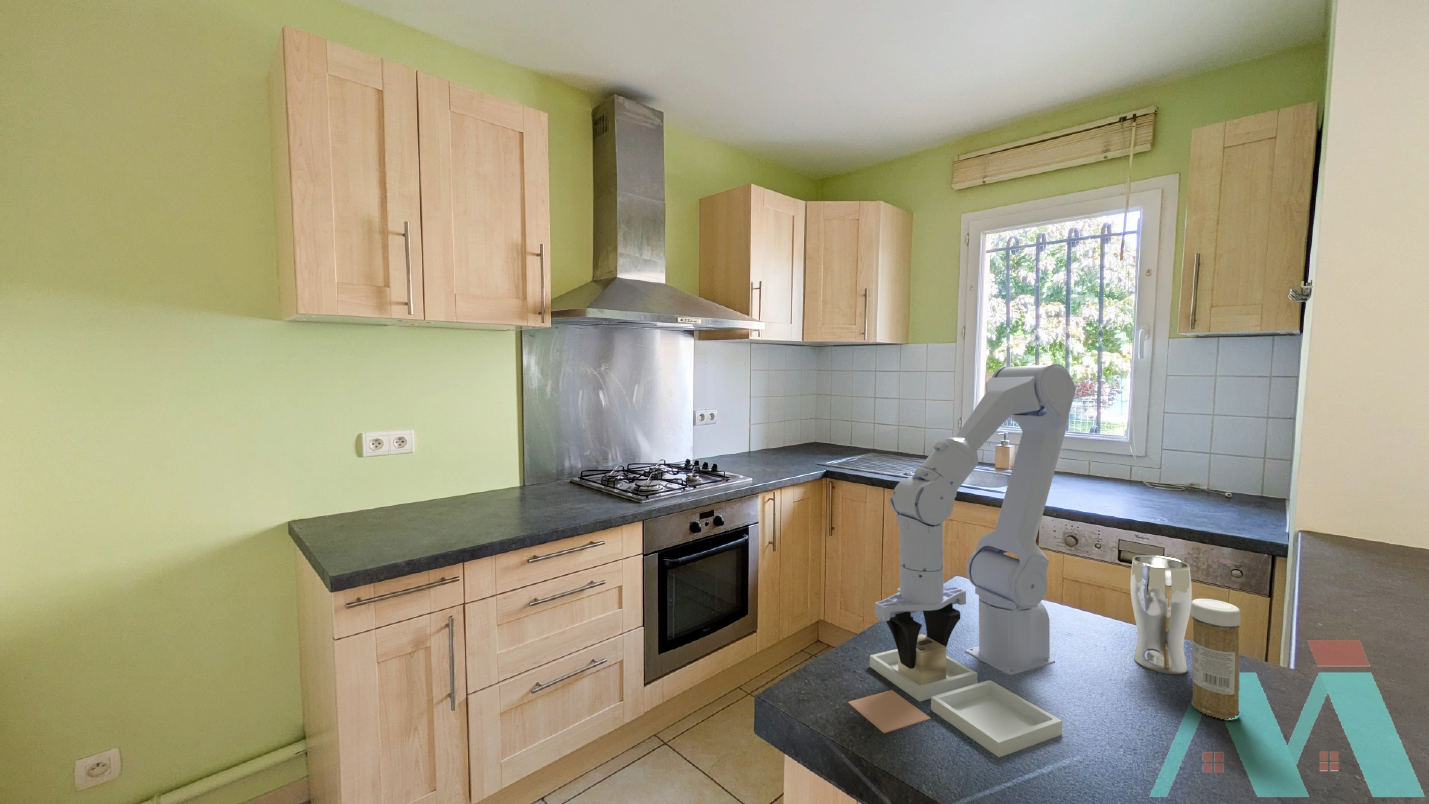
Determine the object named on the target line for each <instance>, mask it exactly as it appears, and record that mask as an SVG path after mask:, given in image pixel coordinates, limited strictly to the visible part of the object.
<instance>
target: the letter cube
mask: <svg viewBox="0 0 1429 804" xmlns="http://www.w3.org/2000/svg"><path fill="white" fill-rule="evenodd" d="M946 655H947V647H945V646H943V645H942V644H940V643H938V642H936V641H934V640H932V639H931V638H929V637H927V635H925V634H923V633H921V634H919V635H918V639H917V645H916V662H915V667H914V668H913V669H909V668H908V667H906V666H905V665H903V664H902V663H901V662H900V658H899V653H898V671H899V672H900V673H902V674H903V675H905V676H906V677H908V678H909V679H911V680H912V681H914V682H915V683H917V684H918V685H920V686H921V685H924V684H928V683H932V682H935V681H939V680H943V679H946Z"/></svg>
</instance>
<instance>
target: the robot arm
mask: <svg viewBox="0 0 1429 804" xmlns="http://www.w3.org/2000/svg"><path fill="white" fill-rule="evenodd" d="M1076 391H1077V386H1076V385H1075V383H1074V381H1073V378H1072V376H1071V375H1070V373H1069V371H1068V369H1067V368H1066V367H1065V366H1064V365H1062V364H1060V363H1048V364H1041V365H1040V364H1039V365H1024V366H1023V365H1022V366H1021V365H1020V366H1011V365H1003V366H1001V367H999V368H997V369H995V371H994V373H993V374H992V376H991V377H990V378H989V379H988V380H987V381H986V382H985V394H984V395H983V396H982V398H981V399H980V401H979V402H978V404H977V405H976V407H975V408H974V409H973V411H972V412H971V414H970V415H969V417H968V418H967V420H966V421H965V423H964V424H963V425H962V427H961V428H960V430H959V431H958V432H957V434H956V435H955V436H953V437H944V438H943V439H942V440H937V442H936V443H934V445H933V449H934V450H932V452H931V453H930V454H929V455H928V457H927V458H926V459H925V460H924V461H923V462H922V463H921V465H920V466H919V467H917V468H916V469H915V470H914V472H913V474H912V476H909V477H907V478H903V479H901V481H899V482H898V483H897V484H896V486H895V487H894V489H893V492H892V496H890V497H889V504H890V506H891V509H892V511H893V512H894V513H895V515H896V524H897V525H898V531H899V532H898V533H899V588H898V587H897V590H896V591H897V593H894V594H893V595H890V596H889V597H887V598H885V599H883V600H882V599H881V600H880V601H876V602H874V616H875V617H876V618H877V619H879V620H881V621H883V622H886V624H887V626H888V628H889V630H890V633H891V635H892V637H893V639H894V642H895V646H896V649H897V650H898V653H899V658H900V662H901V663H902V664H903V665H905V666H906V667H908V668H909V669H913V668H914V667H915V662H916V645H917V639H918V635H920V632H921V630H922V627H923V625H922V623H920V622H918V621H916V620H914V617H913V616H912V614H916V613H919V612H922V614H923V618H924V624H925V630H926V636H927V637H929V638H931V639H932V640H934V641H936V642H938V643H940V644H942V645H943V646H945V647H946V648H948V647H947V646H948V643H949V641H950V640H949V639H950V638H951V635H952V633H953V631H954V629H955V628H956V626H957V624H958V623H959V621H960V620H961V611H960V610H958V609H956V608H954V607H953V605H956V604H957V605H959V606H964V605H966V604H967V591H966V590H964V589H962V588H960V587H957V586H952V587H944V522H945V521H946V520H947V519H948V518H950V517H951V515H952V512H953V511H954V505H955V503H954V502H955V498H956V497H957V493H958V490H959V489H960V487H961V486H962V485H963V484H964V482H965V481H966V480H967V478H968V477H969V476H970V475H971V474H972V472H974V470H975V469H976V467H978V464H979V456H978V450H980V449H981V448H982V447H983V445H984V444H985V443H986V442H987V441H988V440H989V439H990V438H991V437H992V436H993V435H994V434H995V433H996V432H997V431H998V430H999V428H1000V427H1002V425H1003V424H1004V423H1005V422H1006V421H1007V420H1008V419H1009V418H1011V420H1012V421H1013V422H1014V423H1016V424H1018V426H1019V428H1020V430H1021V431H1022V432H1021V436H1020V440H1019V444H1018V448H1017V450H1016V454H1015V458H1014V460H1013V461H1014V462H1013V464H1012V465H1013V466H1012V468H1011V472H1010V477H1009V479H1008V483H1007V486H1006V490H1005V493H1004V498H1003V501H1002V504H1001V508H1000V510H999V514H998V519H997V522H996V527H995V528H994V530H992V531H991V532H989V533H986V534H985V535H982V536H981V537H980V538H979V540H978V543H977V546H976V548H975V550H974V551H973V552H972V553H971V555H970V557H968V560H967V564H966V575H967V580H968V581H969V583H970V584H971V585H973V586H974V588H975V589H974V592H975V593H974V594H976V595H977V596H978V646H974V647H969V648H966V649H965V653H966V654H968V655H970V656H972V657H974V658H976V659H977V660H980V661H982V662H983V663H986V664H987V665H988V666H991V667H993V668H994V669H997V670H999V671H1000V672H1002V673H1004V674H1005V675H1008V676H1013V675H1016V674H1021V673H1023V672H1027V671H1030V670H1034V669H1037V668H1041V667H1043V666H1044V667H1045V666H1048V665H1052V664H1054V663H1056V659H1054V658H1052V657H1050V655H1051V654H1050V653H1051V651H1050V648H1051V647H1050V644H1051V642H1050V637H1051V635H1050V632H1051V631H1050V615H1049V612H1048V609H1046V608H1047V607H1045V605H1044V604H1043V603H1042V600H1043V599H1044V597H1045V596H1046V593H1047V590H1048V577H1047V575H1048V572H1047V571H1048V566H1049V563H1050V560H1049V559H1048V557H1047V555H1046V554H1045V553H1044V552H1043V551H1042V549H1041V548H1040V547H1039V545H1038V544H1037V542H1036V540H1037V537H1038V534H1039V533H1038V532H1039V531H1040V526H1041V523H1042V519H1043V515H1044V513H1045V512H1044V510H1045V508H1046V504H1047V501H1048V497H1049V493H1050V489H1051V486H1052V482H1053V480H1054V479H1053V478H1054V474H1055V471H1056V467H1057V465H1058V461H1059V456H1060V454H1061V453H1060V452H1061V449H1062V446H1063V442H1064V439H1065V435H1066V430H1067V424H1068V420H1069V417H1070V412H1071V410H1072V405H1073V401H1074V398H1075V394H1076ZM1006 553H1011V554H1013V555H1014V556H1016V557H1017V558H1016V557H1013V556H1010V555H1007V554H1006Z"/></svg>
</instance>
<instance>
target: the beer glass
mask: <svg viewBox="0 0 1429 804" xmlns="http://www.w3.org/2000/svg"><path fill="white" fill-rule="evenodd" d="M1131 559H1132V561H1131V562H1132V563H1131V568H1130V569H1131V571H1130V584H1129V585H1130V599H1131V605H1132V606H1131V607H1132V610H1133V616H1134V620H1135V625H1136V631H1137V640H1136V648H1135V649H1134V653H1133V659H1134V661H1135V662H1136V663H1137V664H1138V665H1140V666H1141V667H1144V668H1146V669H1148V670H1151V671H1154V672H1156V673H1157V672H1158V673H1162V674H1167V675H1168V674H1169V675H1181V674H1185V673H1187V672H1188V665H1187V661H1186V656H1185V650H1184V649H1185V648H1184V643H1185V636H1186V631H1187V627H1188V624H1189V619H1190V616H1191V602H1192V601H1193V592H1192V591H1193V590H1192V578H1191V565H1190V564H1189V563H1188V562H1185V561H1182V560H1181V559H1176V558H1173V557H1167V556H1161V555H1152V554H1140V555H1134V556H1132V558H1131Z"/></svg>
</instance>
